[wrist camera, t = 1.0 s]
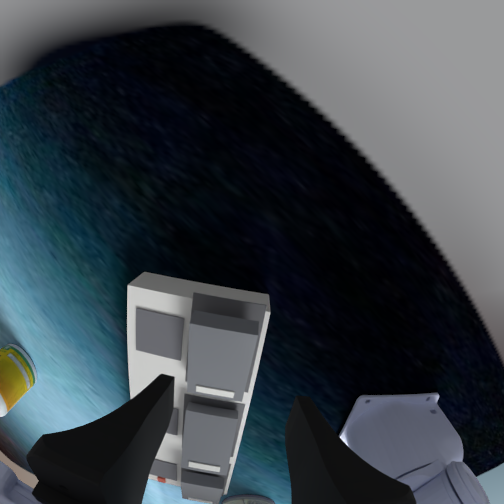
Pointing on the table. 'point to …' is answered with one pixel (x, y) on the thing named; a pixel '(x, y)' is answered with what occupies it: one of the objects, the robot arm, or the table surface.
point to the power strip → (184, 353)
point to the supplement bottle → (14, 376)
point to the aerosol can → (247, 500)
